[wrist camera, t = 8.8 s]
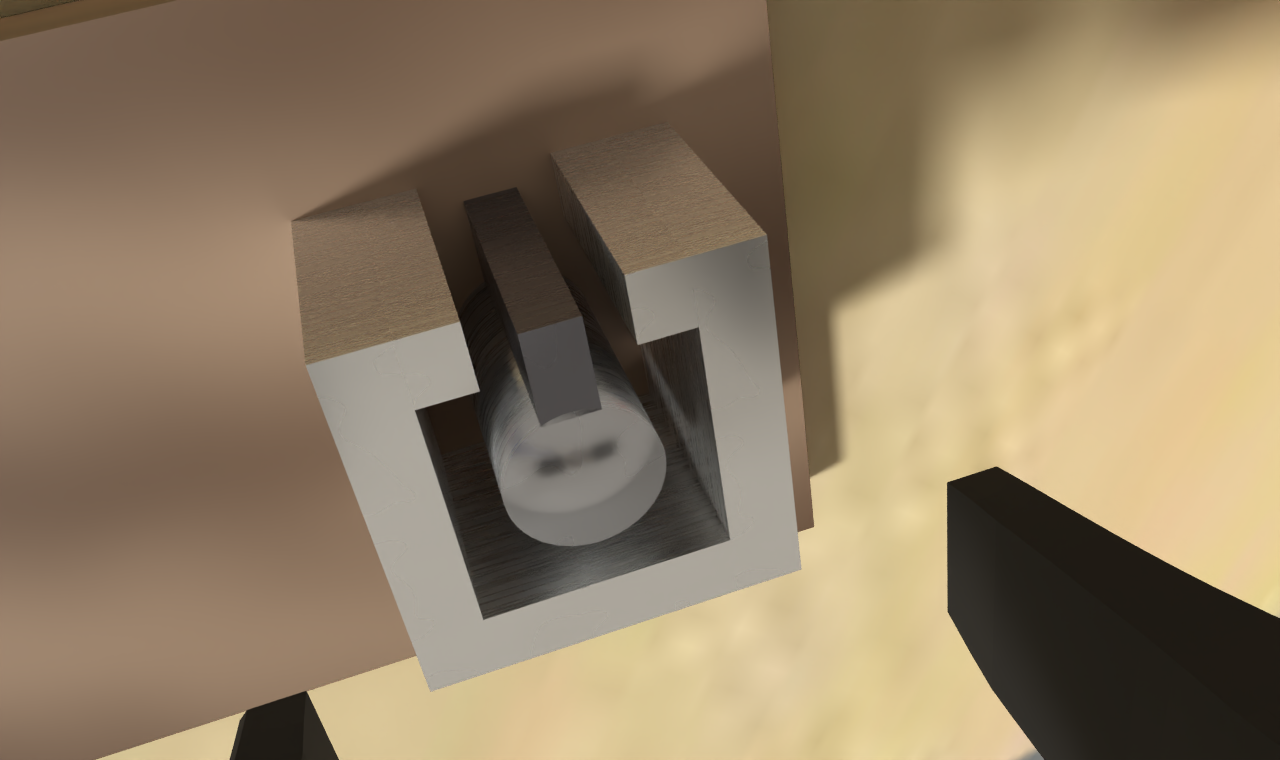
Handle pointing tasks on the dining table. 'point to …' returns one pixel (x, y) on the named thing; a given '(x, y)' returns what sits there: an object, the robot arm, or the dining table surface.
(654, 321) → the grey slotted block
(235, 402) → the base board
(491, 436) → the tabbed grey cylinder
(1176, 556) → the dining table surface
